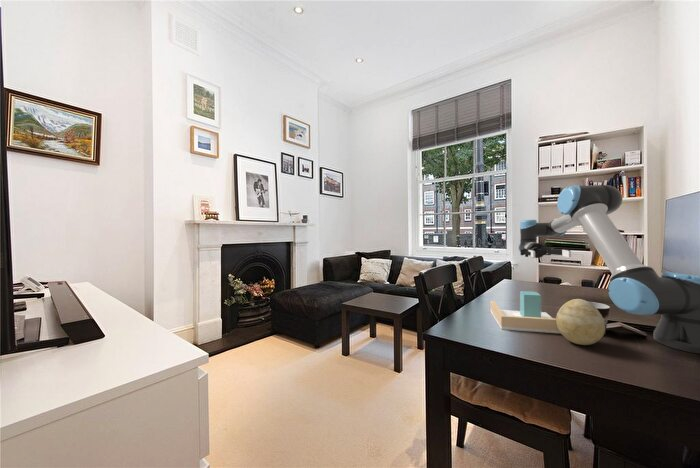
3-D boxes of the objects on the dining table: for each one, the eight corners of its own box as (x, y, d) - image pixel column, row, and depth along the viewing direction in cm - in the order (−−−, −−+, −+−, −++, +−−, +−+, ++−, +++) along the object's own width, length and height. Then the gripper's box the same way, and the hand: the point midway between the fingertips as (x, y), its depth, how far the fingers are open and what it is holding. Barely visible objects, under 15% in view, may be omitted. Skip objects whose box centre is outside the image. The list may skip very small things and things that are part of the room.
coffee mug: (597, 327, 108) (597, 301, 108) (616, 336, 100) (616, 308, 99) (564, 327, 110) (564, 301, 109) (580, 336, 101) (580, 308, 101)
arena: (568, 334, 103) (568, 320, 103) (501, 329, 109) (501, 316, 109) (545, 314, 124) (545, 303, 124) (490, 311, 130) (490, 300, 130)
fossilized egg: (573, 351, 90) (573, 305, 89) (547, 335, 102) (548, 294, 102) (615, 352, 89) (616, 304, 88) (585, 335, 101) (585, 294, 101)
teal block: (536, 315, 120) (536, 291, 120) (541, 319, 115) (541, 295, 114) (520, 314, 122) (519, 291, 122) (524, 318, 116) (524, 294, 116)
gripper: (563, 257, 142) (585, 262, 122) (507, 257, 149) (520, 262, 129) (563, 242, 142) (585, 245, 122) (507, 242, 149) (519, 245, 128)
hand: (551, 254), depth 125 cm, fingers open, 13 cm apart
